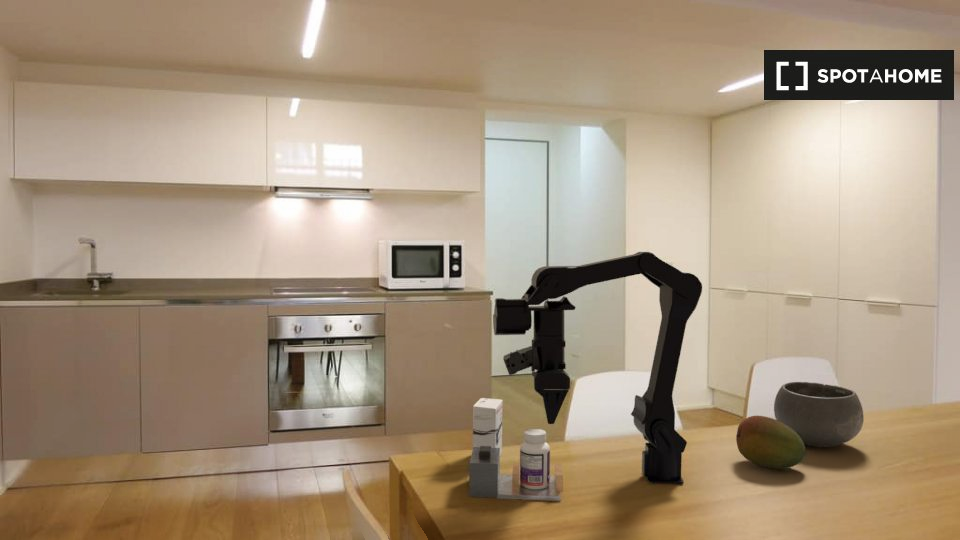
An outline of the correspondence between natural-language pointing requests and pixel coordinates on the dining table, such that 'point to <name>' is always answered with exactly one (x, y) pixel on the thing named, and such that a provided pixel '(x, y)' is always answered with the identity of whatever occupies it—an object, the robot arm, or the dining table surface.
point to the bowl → (819, 412)
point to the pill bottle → (534, 460)
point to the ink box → (487, 423)
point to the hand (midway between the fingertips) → (549, 417)
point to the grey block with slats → (506, 479)
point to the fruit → (769, 443)
